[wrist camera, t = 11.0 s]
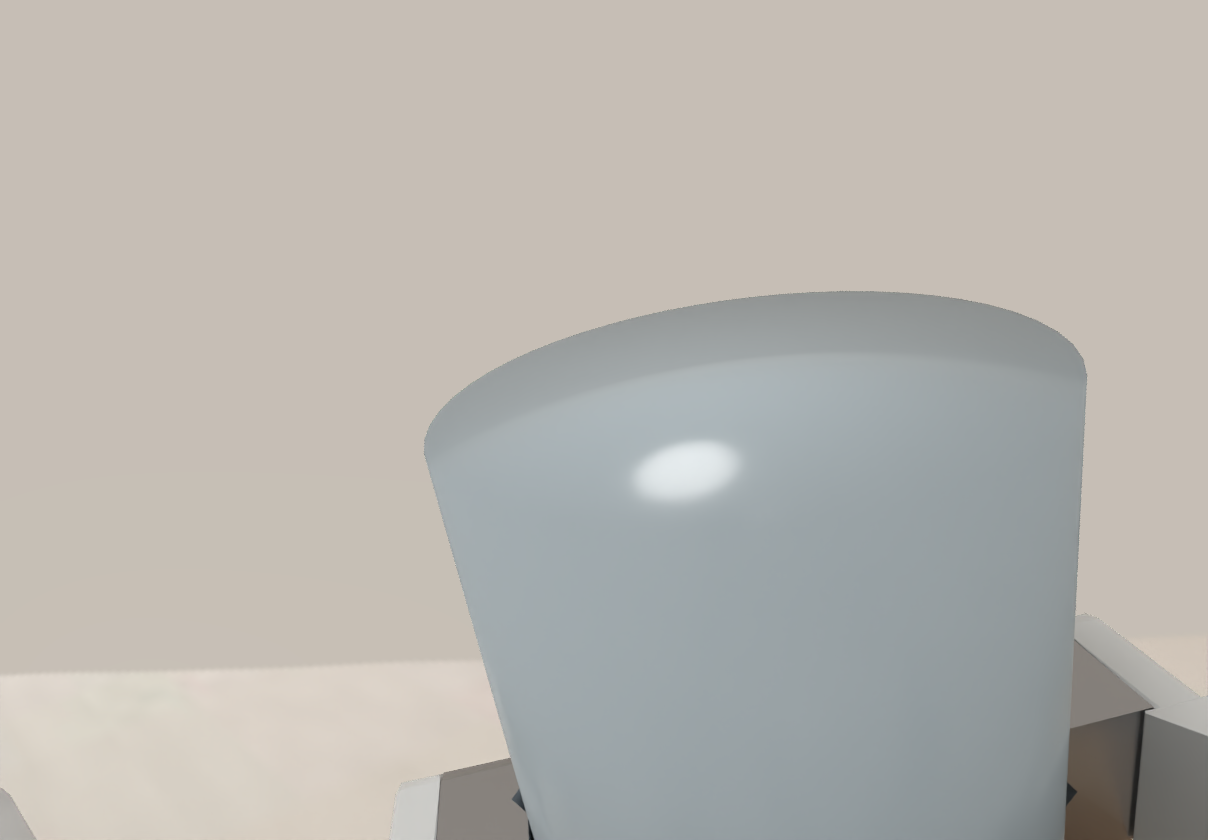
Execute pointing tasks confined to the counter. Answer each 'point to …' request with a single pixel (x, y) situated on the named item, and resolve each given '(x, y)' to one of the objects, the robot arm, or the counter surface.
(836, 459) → the blue-grey tall cylinder
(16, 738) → the counter surface
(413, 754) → the counter surface
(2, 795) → the white dome-topped cylinder
